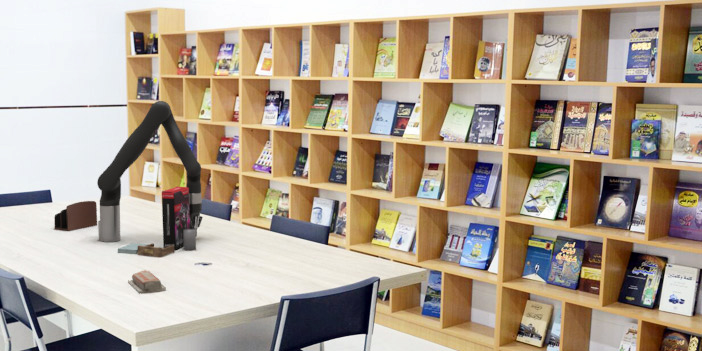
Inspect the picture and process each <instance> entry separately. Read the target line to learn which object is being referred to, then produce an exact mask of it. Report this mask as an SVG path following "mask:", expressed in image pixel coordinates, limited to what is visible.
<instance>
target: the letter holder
mask: <svg viewBox="0 0 702 351" xmlns="http://www.w3.org/2000/svg"><path fill="white" fill-rule="evenodd" d="M97 207H98V206H97V202H96V201H94V200H86V201H85V200H84V201H79V202H75V203H71V204H68V205H66V208H65V209H62V210H61V211H60V212H58V213H56V214H55V215H54V228H53V229H54V231H55V230H56V231H62V232H72V231H75V230H76V231H77V230H81V229H85V228H86V229H87V228H92V227H98V214H97V212H98V208H97Z"/></svg>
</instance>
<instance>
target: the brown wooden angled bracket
mask: <svg viewBox="0 0 702 351" xmlns="http://www.w3.org/2000/svg"><path fill="white" fill-rule="evenodd" d="M148 244H149V245H146V246H140V245H139V246H138V254H137V255H138V256H144V257H145V256H147V257H155V258H156V257H157V258H162V257H164V256H168V255H171V254H173V253H175V250H174V246H169V247H166V248H164V247H160V246H159V247H158V246H155V243H148Z"/></svg>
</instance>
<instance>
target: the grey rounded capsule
mask: <svg viewBox="0 0 702 351" xmlns="http://www.w3.org/2000/svg"><path fill="white" fill-rule="evenodd" d="M196 240H197V237H196V230H195V229H185V230H183V246H182V247H183V250H184V251H187V252H189V251H191V252H192V251H196V250H197V241H196Z"/></svg>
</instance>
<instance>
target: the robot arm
mask: <svg viewBox="0 0 702 351" xmlns="http://www.w3.org/2000/svg"><path fill="white" fill-rule="evenodd" d="M160 126H162V127H163V128H164V131H165V132H166V134H167V136H168V139H169V141H170V144H171V146H172V148H173V150H174V151H175V153H176V155H177V156H178V158H179V159H180V161H181V163H182V166H183V167H184V169H185V172H186V185H185V187H188V188H189V214H190V229H195V230H196V238H197V236H198V232H197V231H198V228H200V226H201V224H202V221H203V216H201V214H200V213H201V212H202V210H203V208H202V205H203V201H202V199H203V197H202V183H201V171H202V166H201V163H199V161H198V160H197V158H196V157H195V154H194V152H193V150H192V148H191V147H190V145H189V143H188V141H187V140H186V138H185V136H184V134H183V132H182V131H181V130H180V128H179V126H178V124H177V122H176V119H175V117H174V114H173V111H172V110H171V106H170V105H169V103H168V102H167V101H164V100H158V101H156V102H154V103H152V105H151V106H150V108H149V109H148V112H147V114H146V115H145V117H144V119H143V120H142V122H141V123H140V124H139V125H138V126H137V127H136V128H135V129H134V130H133V131H132V133H131V134H130V135H129V136H128V137H127V139H126V140H125V142H124V143H123V144H122V146H121V148H120V149H119V150H118V152H117V153H116V155H115V157H114V158H113V160H112V161H111V163H110V164H108V167H107V168H106V169H105V170H104V171H103V172H102V173H100V175H99V177H98V179H97V188H98V189H99V190H100V192H101V195H100V198H99V220H97V227H98V241H101V242H103V243H104V242H105V243H112V242H119V241H121V206H120V205H121V202H120V201H121V197H122V181H121V178H122V177H123V175H124V173H125V172H126V171H127V170H128V169H130V167H131V166H132V165H133V164H134V163H135V162H136V161H137V159H139V157H140V156H141V155H142V153H143V152H144V151H145V149H146V148H147V147H148V145H149V143H150V141H151V139H152V137H153V135H154V133H155V132H156V131H157V130H158V128H160Z"/></svg>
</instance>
